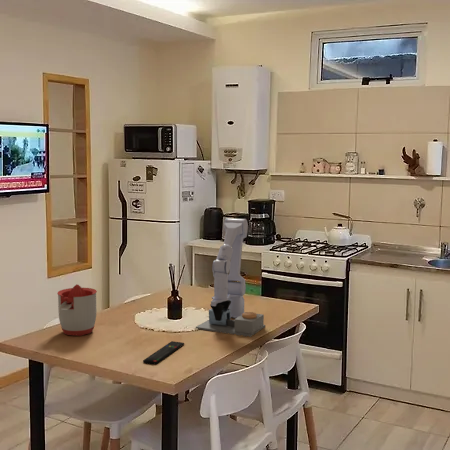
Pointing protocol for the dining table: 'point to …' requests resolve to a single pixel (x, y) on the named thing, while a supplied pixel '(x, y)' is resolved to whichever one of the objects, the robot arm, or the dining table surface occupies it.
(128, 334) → the dining table surface
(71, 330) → the citrus juicer
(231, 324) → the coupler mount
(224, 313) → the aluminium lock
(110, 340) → the dining table surface
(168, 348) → the remote control
